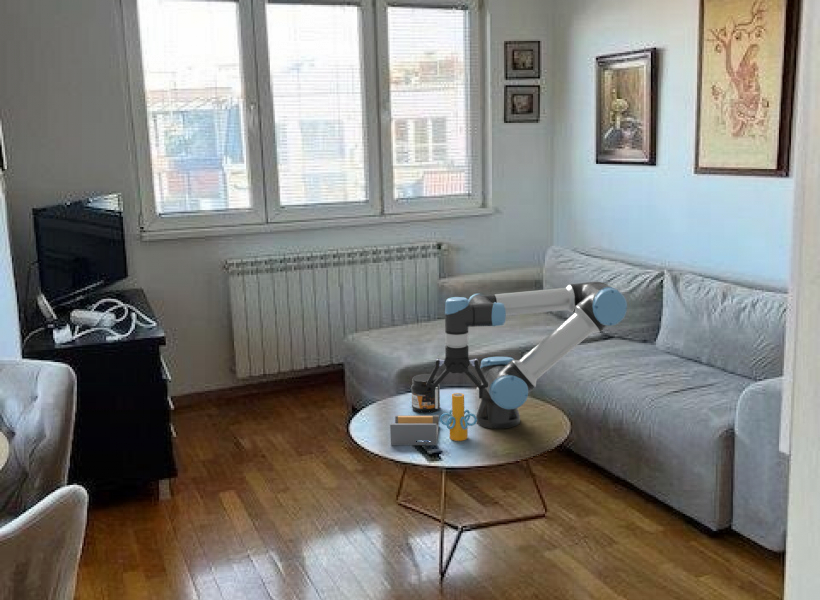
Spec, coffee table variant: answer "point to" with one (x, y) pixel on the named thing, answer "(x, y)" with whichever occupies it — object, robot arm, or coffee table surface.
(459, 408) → the cylinder
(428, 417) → the bar
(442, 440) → the coffee table surface
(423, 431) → the frame
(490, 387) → the robot arm
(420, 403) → the supplement container
